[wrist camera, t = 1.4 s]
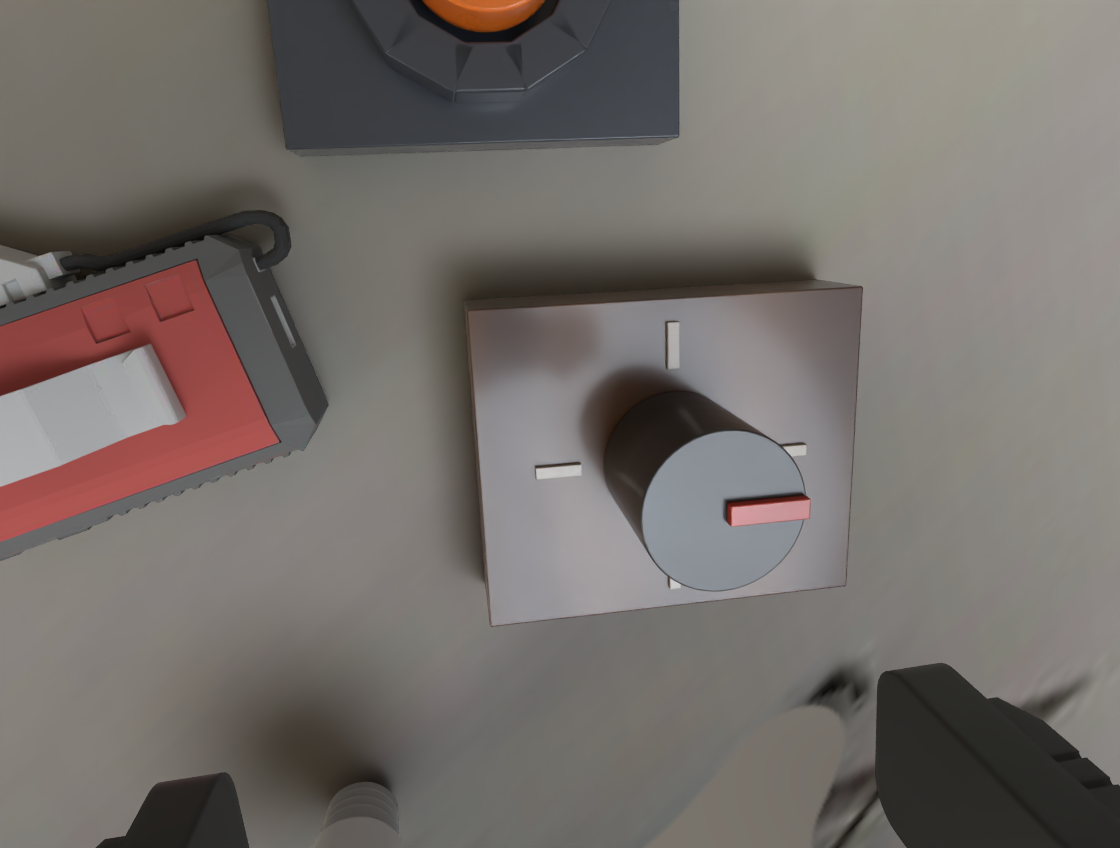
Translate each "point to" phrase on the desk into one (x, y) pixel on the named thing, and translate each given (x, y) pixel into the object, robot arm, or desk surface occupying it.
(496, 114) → the button box
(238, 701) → the desk surface
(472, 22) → the button
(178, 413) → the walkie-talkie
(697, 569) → the dial
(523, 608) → the dial panel
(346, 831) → the lightbulb
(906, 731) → the robot arm
